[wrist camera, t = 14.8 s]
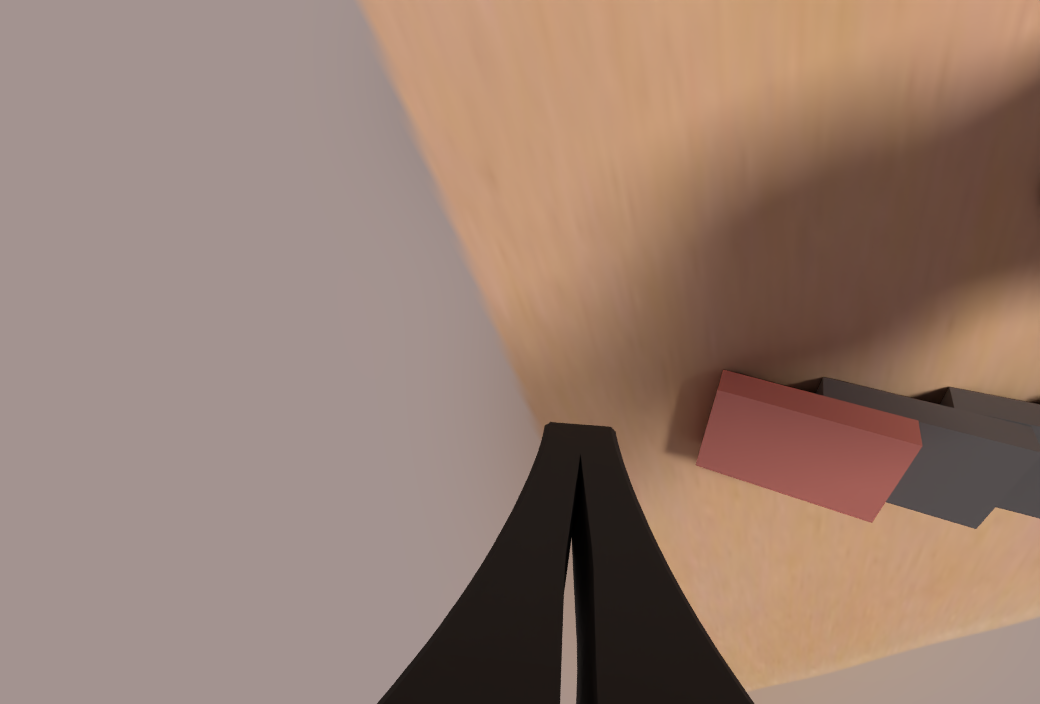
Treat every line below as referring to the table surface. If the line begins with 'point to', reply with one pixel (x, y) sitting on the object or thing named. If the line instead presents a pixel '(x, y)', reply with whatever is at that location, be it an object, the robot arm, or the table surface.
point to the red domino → (807, 445)
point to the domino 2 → (1036, 487)
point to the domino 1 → (951, 455)
